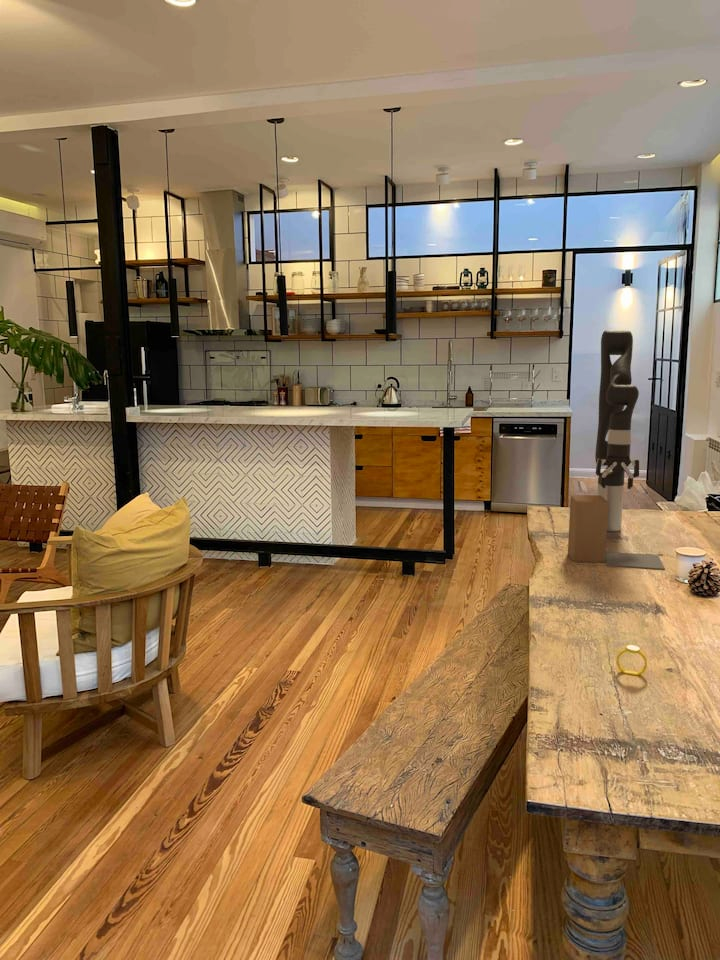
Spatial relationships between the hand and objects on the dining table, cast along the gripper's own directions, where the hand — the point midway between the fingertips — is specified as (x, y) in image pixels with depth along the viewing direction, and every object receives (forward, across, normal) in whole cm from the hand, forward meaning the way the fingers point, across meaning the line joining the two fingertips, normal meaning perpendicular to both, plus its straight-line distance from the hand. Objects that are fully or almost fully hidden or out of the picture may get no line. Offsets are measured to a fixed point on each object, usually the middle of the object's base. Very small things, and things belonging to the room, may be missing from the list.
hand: (616, 488), depth 254 cm
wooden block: (+20, +13, +24) cm, 34 cm away
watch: (+23, +15, +109) cm, 113 cm away
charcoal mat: (+20, -2, +25) cm, 32 cm away
